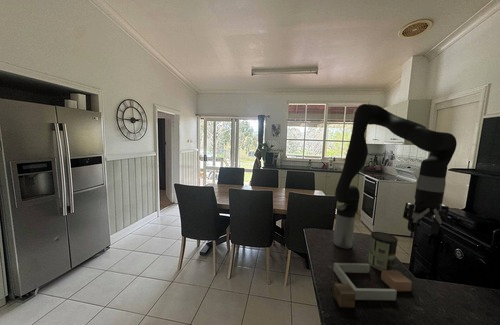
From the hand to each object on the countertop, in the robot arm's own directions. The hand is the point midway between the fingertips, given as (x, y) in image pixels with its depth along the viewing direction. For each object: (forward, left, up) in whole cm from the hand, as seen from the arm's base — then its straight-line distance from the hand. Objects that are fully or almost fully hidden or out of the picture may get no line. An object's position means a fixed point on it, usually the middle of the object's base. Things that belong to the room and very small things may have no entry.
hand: (422, 231), depth 74 cm
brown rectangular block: (-5, -3, -25) cm, 26 cm away
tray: (-5, -17, -25) cm, 30 cm away
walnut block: (+4, -29, -25) cm, 39 cm away
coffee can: (-18, 0, -25) cm, 31 cm away
